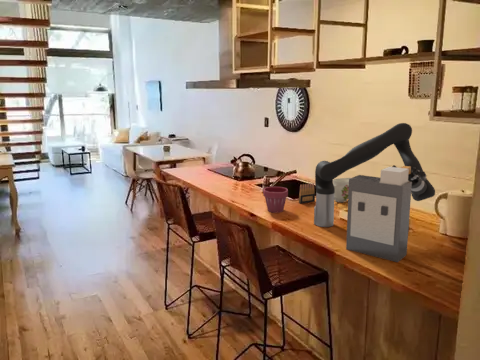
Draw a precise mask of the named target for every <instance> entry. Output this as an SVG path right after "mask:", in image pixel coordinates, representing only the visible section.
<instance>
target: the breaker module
mask: <svg viewBox="0 0 480 360" xmlns="http://www.w3.org/2000/svg"><path fill="white" fill-rule="evenodd" d="M408 174H411V167H409V166H405V165H403V166H400V167H398V166H396V167H392V166H388V167H385V168H383V169H381V170H380V176H379V178H380V182H383V183H390V184H398V185H400V184H402V183H404V182H406V181H408Z"/></svg>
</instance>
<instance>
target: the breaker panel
mask: <svg viewBox="0 0 480 360" xmlns="http://www.w3.org/2000/svg"><path fill="white" fill-rule="evenodd" d="M349 178H350V179H349V190H348V200H347V216H346V217H347V219H346V221H347V222H346V226H347V227H346V240H345V241H346V244H345V248H346V249H345V250H348V251H351V252H355V253H360V254H364V255H367V256H372V257H376V258H379V259H384V260H388V261H390V262H391V261H392V262H395V263H399V262H400V261H401V260H402V259H404V258H405V257H406V256H407V254H408V240H409V226H410V213H411V212H410V211H411V197H412V194H411V188H412V182H410V181H406V182H404V183H402V184H400V185H398V184H390V183H383V182H380V176H379V177H378V176H370V175H365V174H364V175H363V174H358V175H356V176H355V175H354V176H353V177H349Z"/></svg>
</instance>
